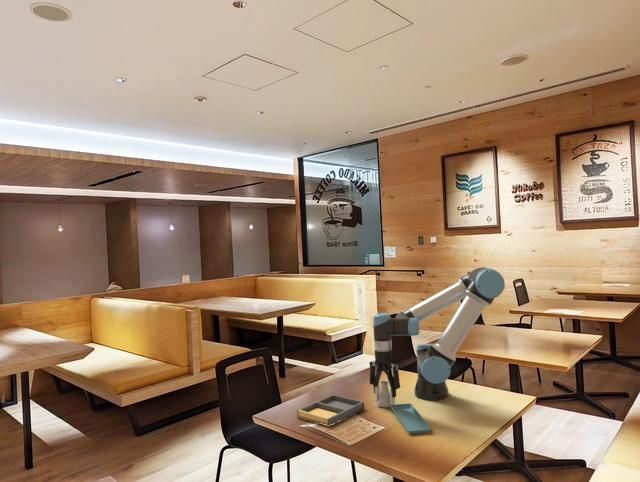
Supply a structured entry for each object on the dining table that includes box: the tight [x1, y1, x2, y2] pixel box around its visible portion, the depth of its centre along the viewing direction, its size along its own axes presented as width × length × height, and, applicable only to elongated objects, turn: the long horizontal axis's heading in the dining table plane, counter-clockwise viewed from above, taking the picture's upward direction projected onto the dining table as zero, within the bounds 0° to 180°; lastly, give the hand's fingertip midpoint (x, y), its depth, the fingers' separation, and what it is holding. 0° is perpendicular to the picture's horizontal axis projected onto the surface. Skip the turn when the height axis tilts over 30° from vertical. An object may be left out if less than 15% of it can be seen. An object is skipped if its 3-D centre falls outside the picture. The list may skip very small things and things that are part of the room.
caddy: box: [296, 394, 365, 425], centre depth 190 cm, size 17×23×3 cm
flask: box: [376, 380, 391, 409], centre depth 197 cm, size 7×7×10 cm
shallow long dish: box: [390, 402, 432, 435], centre depth 179 cm, size 26×9×2 cm, turn 5°
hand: (385, 402), depth 197 cm, fingers closed on flask, 7 cm apart
